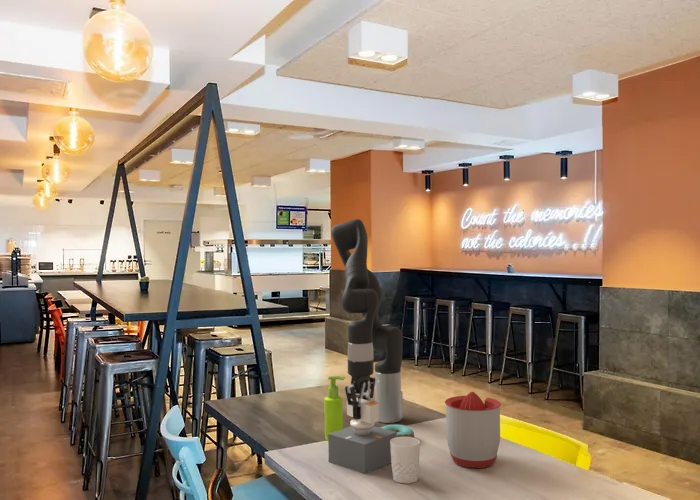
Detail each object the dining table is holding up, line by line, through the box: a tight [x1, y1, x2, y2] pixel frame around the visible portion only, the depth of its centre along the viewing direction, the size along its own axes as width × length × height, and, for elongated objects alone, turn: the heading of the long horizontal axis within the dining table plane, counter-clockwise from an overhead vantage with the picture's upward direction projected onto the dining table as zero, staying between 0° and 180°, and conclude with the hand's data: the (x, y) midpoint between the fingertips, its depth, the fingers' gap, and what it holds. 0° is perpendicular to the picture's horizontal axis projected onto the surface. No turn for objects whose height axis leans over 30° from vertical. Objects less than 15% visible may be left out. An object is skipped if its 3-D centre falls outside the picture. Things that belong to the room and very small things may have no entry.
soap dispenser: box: [323, 375, 346, 441], centre depth 189 cm, size 6×7×20 cm
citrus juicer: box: [444, 391, 501, 469], centre depth 168 cm, size 16×17×20 cm
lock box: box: [327, 425, 397, 474], centre depth 169 cm, size 14×14×10 cm
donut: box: [380, 424, 415, 438], centre depth 186 cm, size 12×12×4 cm
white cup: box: [390, 437, 421, 484], centre depth 155 cm, size 8×8×10 cm
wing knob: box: [346, 398, 379, 429], centre depth 169 cm, size 11×7×7 cm, turn 36°
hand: (361, 416), depth 169 cm, fingers closed on wing knob, 4 cm apart
